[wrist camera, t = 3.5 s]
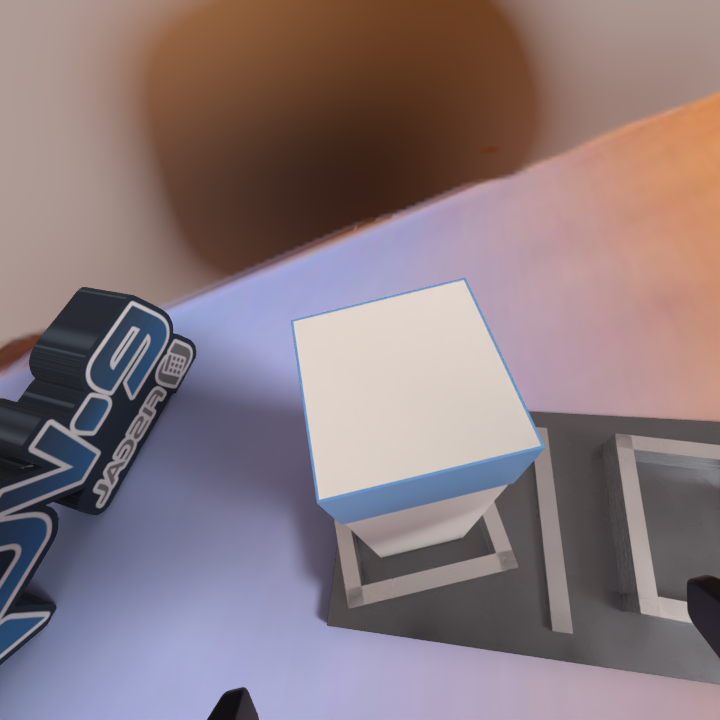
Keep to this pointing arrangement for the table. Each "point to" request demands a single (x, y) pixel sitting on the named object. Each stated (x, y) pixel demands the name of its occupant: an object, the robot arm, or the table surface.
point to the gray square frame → (427, 579)
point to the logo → (77, 432)
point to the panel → (566, 560)
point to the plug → (410, 416)
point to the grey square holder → (631, 520)
